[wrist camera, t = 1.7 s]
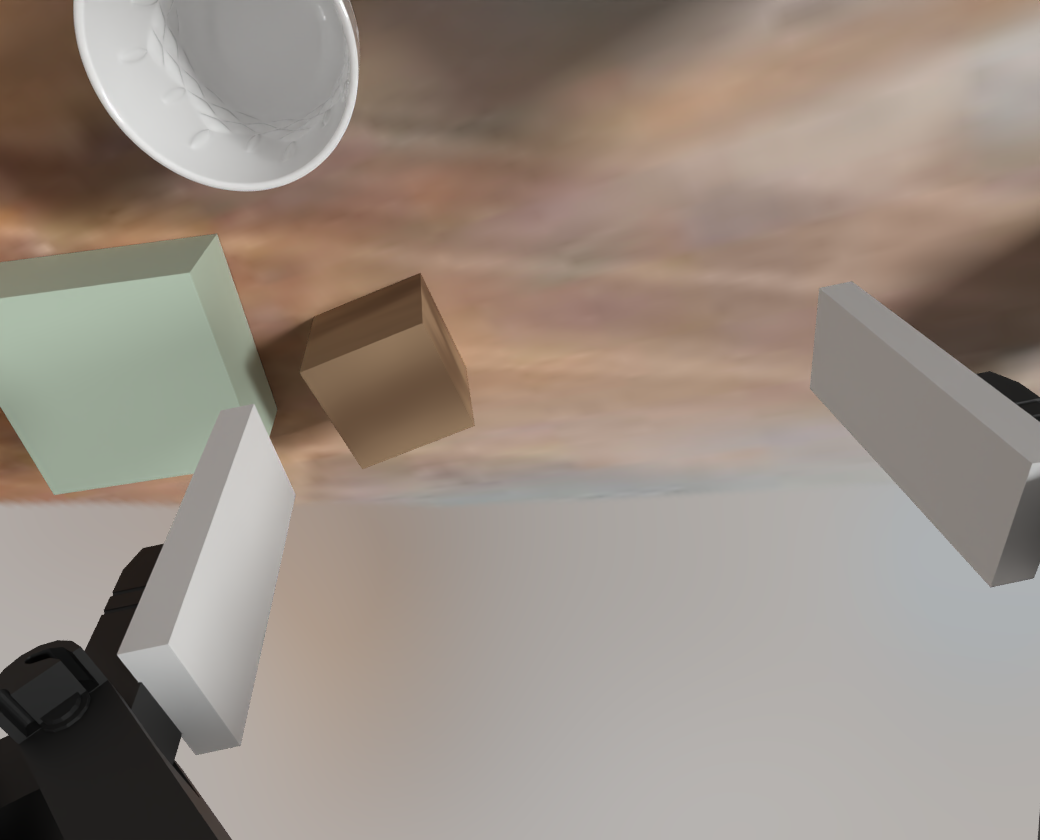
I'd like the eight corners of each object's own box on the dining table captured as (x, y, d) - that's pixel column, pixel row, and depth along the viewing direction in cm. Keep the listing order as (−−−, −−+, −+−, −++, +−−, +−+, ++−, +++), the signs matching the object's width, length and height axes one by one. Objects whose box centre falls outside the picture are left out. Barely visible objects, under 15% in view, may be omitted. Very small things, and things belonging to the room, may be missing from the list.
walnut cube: (314, 316, 36) (299, 372, 31) (420, 272, 35) (422, 322, 30) (368, 405, 39) (362, 469, 34) (465, 366, 39) (474, 425, 34)
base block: (-1, 262, 32) (-61, 306, 28) (217, 233, 33) (189, 272, 29) (92, 436, 38) (53, 495, 34) (277, 409, 39) (261, 463, 34)
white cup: (142, 57, 29) (35, 95, 20) (219, -141, 26) (130, -190, 17) (319, 165, 32) (288, 236, 24) (406, 1, 29) (405, 17, 21)
